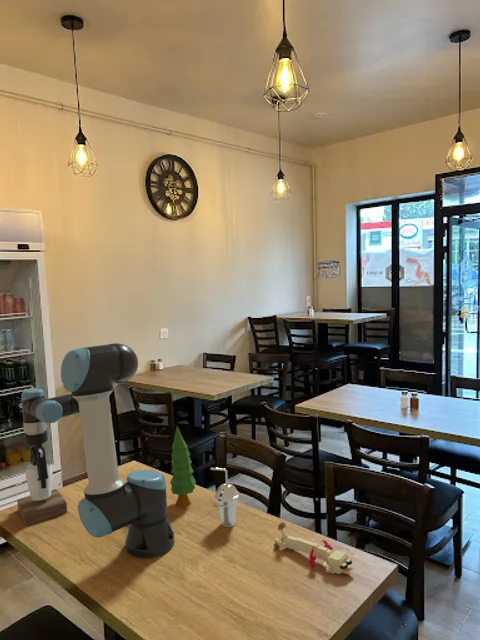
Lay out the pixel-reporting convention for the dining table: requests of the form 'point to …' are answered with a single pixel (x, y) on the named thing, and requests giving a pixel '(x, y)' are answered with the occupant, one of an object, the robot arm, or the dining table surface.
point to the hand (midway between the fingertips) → (40, 491)
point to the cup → (33, 483)
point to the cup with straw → (226, 501)
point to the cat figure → (316, 552)
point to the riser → (41, 508)
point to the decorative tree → (181, 471)
